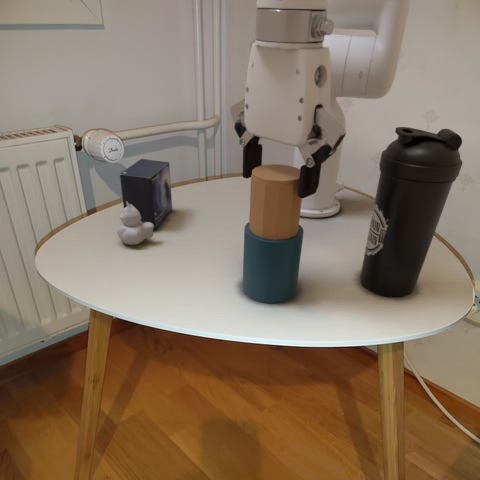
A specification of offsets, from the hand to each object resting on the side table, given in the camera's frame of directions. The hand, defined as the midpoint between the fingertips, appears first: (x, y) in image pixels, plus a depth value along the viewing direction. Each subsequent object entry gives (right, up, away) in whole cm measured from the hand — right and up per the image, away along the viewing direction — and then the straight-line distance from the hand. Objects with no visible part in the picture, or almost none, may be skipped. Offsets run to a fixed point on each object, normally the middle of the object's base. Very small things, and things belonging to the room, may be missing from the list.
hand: (278, 185), depth 56 cm
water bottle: (+19, -12, +11) cm, 25 cm away
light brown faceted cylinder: (0, -5, +3) cm, 6 cm away
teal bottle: (-1, -13, +9) cm, 16 cm away
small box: (-23, +2, +29) cm, 37 cm away
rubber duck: (-24, -4, +21) cm, 32 cm away
